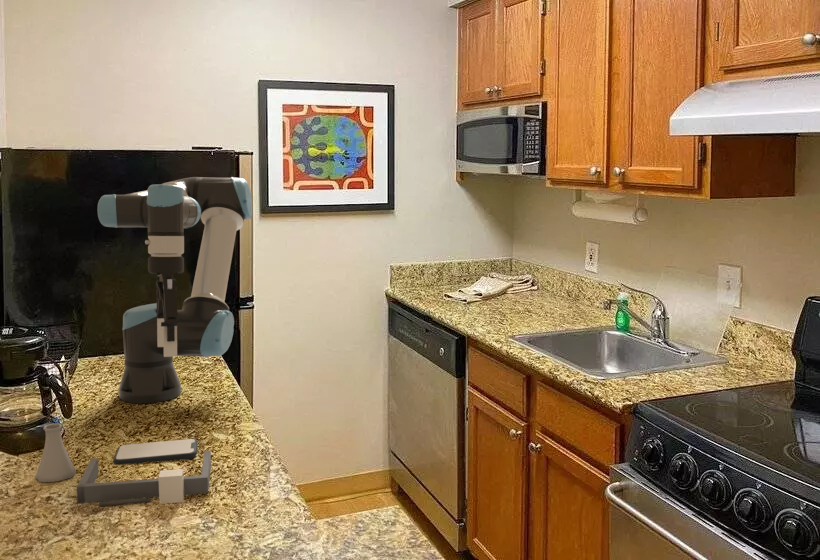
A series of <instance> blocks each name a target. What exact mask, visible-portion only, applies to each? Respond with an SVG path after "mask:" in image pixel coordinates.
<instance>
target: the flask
mask: <svg viewBox="0 0 820 560" xmlns="http://www.w3.org/2000/svg"><path fill="white" fill-rule="evenodd" d="M62 428H63V425H62V424H61V423H60V422H59V423H56V422H55V423H49V424H45V425H44V426H43V428H42V429H43V431H45V440H44V441H45V443H44V447H43V451H42V453H41V459H40V461H39V464H38V467H37V470H36V474H35V476H34V478H35V479H36V480H37V481H39V483H52V482H60V481H64V480H66V479H67V480H68V479H71V478H73V477H74V475H75V474H76V473H77V469H76V467H75V466H74V463H73V461H72V458H71V457H70V455H69V453H68V451H67V449H66V447H65V444H64V441H63V437H62V432H61V429H62Z"/></svg>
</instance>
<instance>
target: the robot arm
mask: <svg viewBox="0 0 820 560" xmlns="http://www.w3.org/2000/svg"><path fill="white" fill-rule="evenodd" d="M97 217H98V218H97V219H98V220H99V223H100V224H101V225H102V226H103V227H107V228H115V229H116V228H147V238H148V239H145V241H144V243H145V245H148V246H147V253H148V254H149V255H150V256H148V257H147V272H148V273H149V274H152V275H157V276H156V282H155V289H156V302H155V303H149V304H145V305H144V304H143V305H138V306H136V307H132V308H130V309H127V310H126V311H124V313H123V315H122V329H121V330H122V336H123V338H122V339H123V354H124V356H123V358H124V370H123V373H122V376H121V380H120V383H119V387H118V396H119V397H118V398H119V399H120V400H121V401H123V402H126V403H131V404H152V403H153V404H155V403H159V402H160V403H161V402H165V401H168V400H171V399H175V398H177V397H179V396H180V395H181V393H182V386H181V385H182V383H181V381H180V378H179V375H178V373H177V371H176V368H175V366H174V360H173V357H203V358H209V357H221V356H222V355H224V354H225V353H227V352H228V350H229V347H230V346H231V343H232V340H233V335H234V330H235V329H234V326H235V317H234V315H233V312H231V311H230V307H229V306H228V304H227V303H226V302H225V300H226V294H227V289H228V282H229V276H230V271H231V265H232V259H233V253H234V247H235V242H236V235H237V231H239V230H241V229H242V228H243V225H244V223H245V220H246V221H247V220H250V219H252V217H253V200H252V194H251V189H250V185H249V183H248V181H247V180H246V179H245V178H243V177H242V178H241V177H234V176H231V177H203V176H192V177H191V176H190V177H185V178H179V179H176V180H172V181H168V182H163V183H161V184H151V185H149V186H148V188H147V190H142V191H137V192H131V193H126V194H115V193H113V194H104V195H102V196H101V197H100V199H99V200H98V203H97ZM199 221H201V223H202V224H203V225H204V229H203V234H202V238H201V243H200V248H199V253H198V258H197V263H196V264H197V265H196V269H195V273H194V274H195V275H194V279H193V284H192V290H191V294H190V296H189V297H187V298H186V299H184V301H183V304H182V308H181V309H178V302H177V301H178V299H177V286H178V285H177V284H178V283H177V279H176V278H174V274H175V275H177V274H178V275H179V274H183V273H184V271H185V270H184V269H185V257H183V256H182V255H183V254H184V253H185V235H184V230H185V229H189V228H193V227H194V226H195V225H197V223H198V222H199Z"/></svg>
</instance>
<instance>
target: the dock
mask: <svg viewBox="0 0 820 560" xmlns="http://www.w3.org/2000/svg"><path fill="white" fill-rule="evenodd" d="M202 459H203V460H202V467H201V475H189V476H188V475H187V476H186V475H185V476H184V468H177V469H165V470H164V469H163V470H159V473H158V474H159V475H158V478H148V479H146V478H145V479H134V480H122V481H121V480H120V481H107V482H96V479H97V477H98V475H99V473H100V471H99V469H100V468H99V458H98V457H92V458H90V460H89V462H88V463H87V466H86V469H85V470H84V473H83V474H82V476H81V477H80V480H79V482H78V483H77V486H76V496H77V503H78V504H83V503H84V504H86V503H96V502H97V503H98V506H99V507H106V506H120V505H131V504H143V503H144V504H145V503H151V498H159V505H162V504H163V505H164V504H173V503H174V504H177V503H184V499H185V495H187V496H188V495H198V494H199V495H200V494H209V490H210V489H209V488H210V487H209V486H210V477H211V469H212V451H211V450H204V452H203V458H202Z"/></svg>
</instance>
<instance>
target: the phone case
mask: <svg viewBox="0 0 820 560" xmlns="http://www.w3.org/2000/svg"><path fill="white" fill-rule="evenodd" d="M197 451H198V440H197V439H196V438H187V439H175V440H165V441H164V440H163V441H152V442H142V443H140V442H139V443H130V444H122V445H119V446H118V447H117V449H116V452H115V455H114V458H113V464H114V465H129V464H130V465H131V464H141V463H142V464H145V463H144V462H146V463H157V461H159V462H168V461H169V462H170V460H172V461H181V460H180V459H184V460H192V459H195V458H196V457H197ZM194 457H195V458H194ZM191 458H192V459H191ZM155 461H156V462H155Z"/></svg>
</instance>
